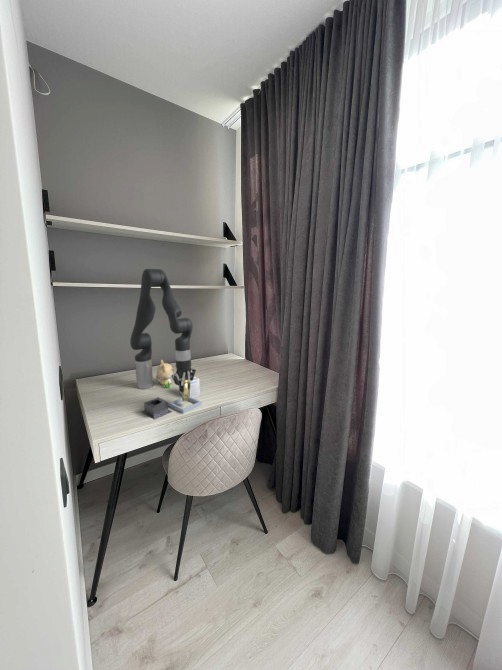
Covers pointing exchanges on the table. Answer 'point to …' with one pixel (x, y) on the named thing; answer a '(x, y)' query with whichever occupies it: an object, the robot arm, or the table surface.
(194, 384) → the light bulb box
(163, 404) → the block
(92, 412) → the table surface
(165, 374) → the kitten
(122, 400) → the table surface
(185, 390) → the pin
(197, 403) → the tray
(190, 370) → the robot arm
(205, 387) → the table surface
